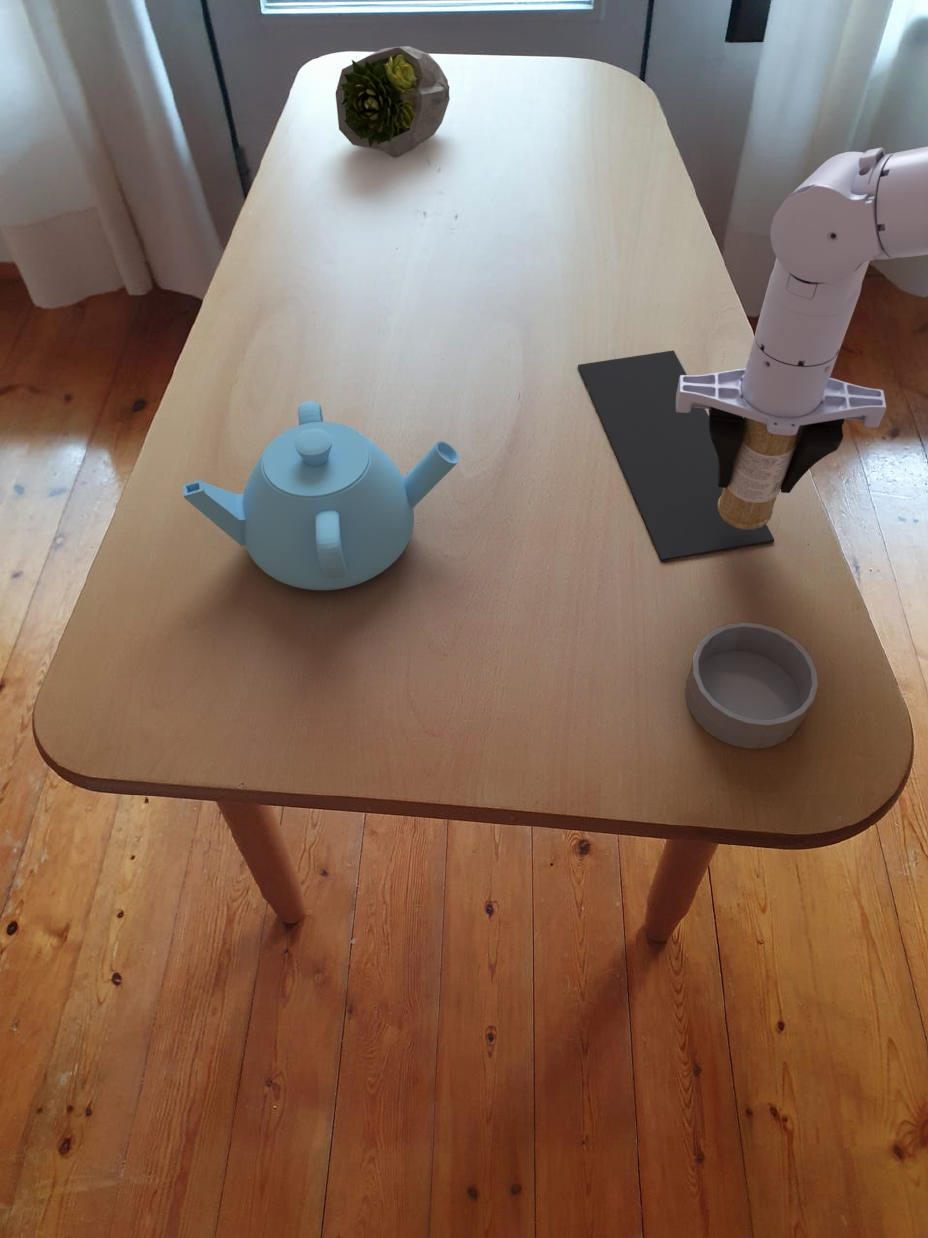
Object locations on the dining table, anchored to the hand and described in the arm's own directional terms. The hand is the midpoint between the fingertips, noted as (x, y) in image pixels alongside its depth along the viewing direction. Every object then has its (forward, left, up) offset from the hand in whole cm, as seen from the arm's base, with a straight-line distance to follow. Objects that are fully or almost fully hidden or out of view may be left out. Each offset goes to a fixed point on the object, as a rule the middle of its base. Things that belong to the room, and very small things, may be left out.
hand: (752, 481), depth 76 cm
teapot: (+34, +4, -7) cm, 35 cm away
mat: (+6, -10, -6) cm, 13 cm away
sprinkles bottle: (0, 0, -4) cm, 4 cm away
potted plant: (+40, -62, -7) cm, 74 cm away
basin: (0, +16, -6) cm, 18 cm away
